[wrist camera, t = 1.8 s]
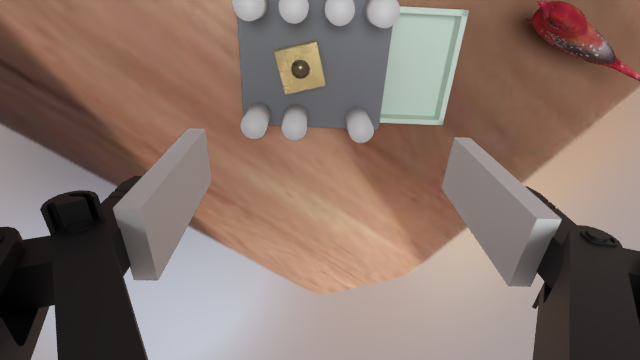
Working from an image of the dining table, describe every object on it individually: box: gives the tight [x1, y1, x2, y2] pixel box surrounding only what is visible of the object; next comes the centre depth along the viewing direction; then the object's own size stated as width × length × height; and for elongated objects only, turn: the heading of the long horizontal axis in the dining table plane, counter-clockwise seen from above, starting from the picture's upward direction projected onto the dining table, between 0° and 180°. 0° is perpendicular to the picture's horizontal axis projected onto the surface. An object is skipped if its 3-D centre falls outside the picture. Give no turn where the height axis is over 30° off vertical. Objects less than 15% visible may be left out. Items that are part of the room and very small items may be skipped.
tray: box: [380, 6, 469, 125], centre depth 40 cm, size 8×13×2 cm, turn 177°
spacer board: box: [232, 0, 400, 143], centre depth 38 cm, size 17×15×7 cm
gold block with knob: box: [274, 39, 326, 95], centre depth 38 cm, size 5×5×3 cm
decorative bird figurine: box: [526, 1, 640, 81], centre depth 36 cm, size 3×18×10 cm, turn 63°
